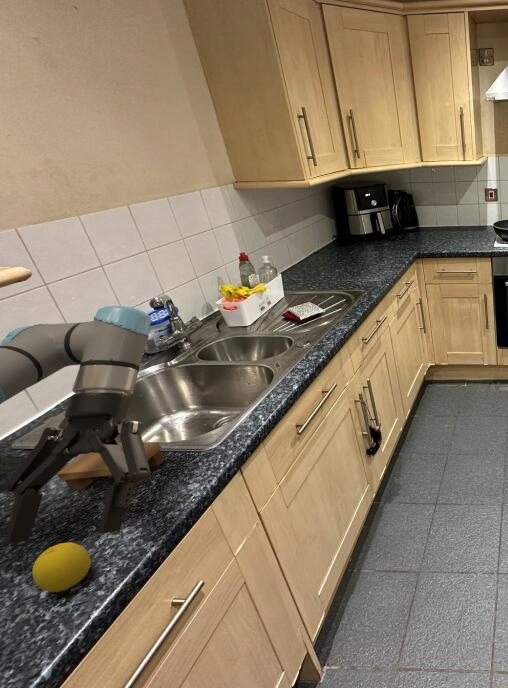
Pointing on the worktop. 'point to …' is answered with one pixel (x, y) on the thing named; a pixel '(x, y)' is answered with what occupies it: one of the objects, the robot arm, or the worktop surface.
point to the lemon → (61, 567)
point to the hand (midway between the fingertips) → (62, 537)
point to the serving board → (101, 467)
